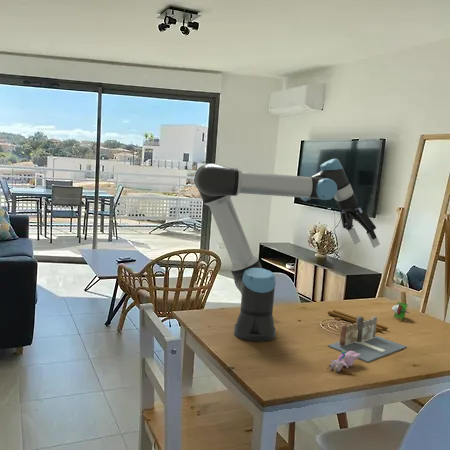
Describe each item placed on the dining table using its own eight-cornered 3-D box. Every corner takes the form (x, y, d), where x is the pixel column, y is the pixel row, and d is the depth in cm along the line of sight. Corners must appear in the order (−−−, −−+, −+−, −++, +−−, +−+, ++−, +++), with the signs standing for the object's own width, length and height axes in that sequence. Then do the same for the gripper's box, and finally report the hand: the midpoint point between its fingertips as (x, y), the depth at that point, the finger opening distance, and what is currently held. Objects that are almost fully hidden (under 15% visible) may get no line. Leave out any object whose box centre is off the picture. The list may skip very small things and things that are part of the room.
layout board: (367, 362, 153) (367, 361, 153) (327, 346, 165) (327, 344, 165) (406, 347, 169) (406, 346, 169) (367, 333, 181) (367, 332, 181)
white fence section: (358, 343, 169) (361, 318, 168) (353, 340, 171) (355, 317, 170) (376, 337, 177) (379, 314, 176) (370, 335, 179) (373, 312, 178)
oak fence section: (353, 339, 171) (355, 321, 170) (357, 341, 169) (359, 322, 168) (338, 344, 165) (340, 325, 164) (342, 346, 163) (344, 326, 163)
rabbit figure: (339, 380, 142) (366, 361, 151) (339, 362, 141) (367, 344, 150) (322, 372, 146) (350, 354, 156) (322, 355, 145) (350, 338, 155)
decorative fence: (377, 335, 182) (390, 330, 189) (377, 330, 182) (390, 326, 188) (323, 317, 200) (337, 313, 207) (324, 312, 200) (338, 309, 207)
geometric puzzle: (398, 308, 212) (395, 296, 207) (413, 312, 207) (410, 300, 203) (391, 320, 208) (388, 308, 204) (406, 324, 203) (403, 312, 199)
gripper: (370, 192, 172) (393, 242, 176) (336, 192, 196) (357, 237, 200) (354, 201, 170) (377, 252, 174) (322, 201, 194) (343, 245, 198)
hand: (366, 244), depth 187 cm, fingers open, 13 cm apart
